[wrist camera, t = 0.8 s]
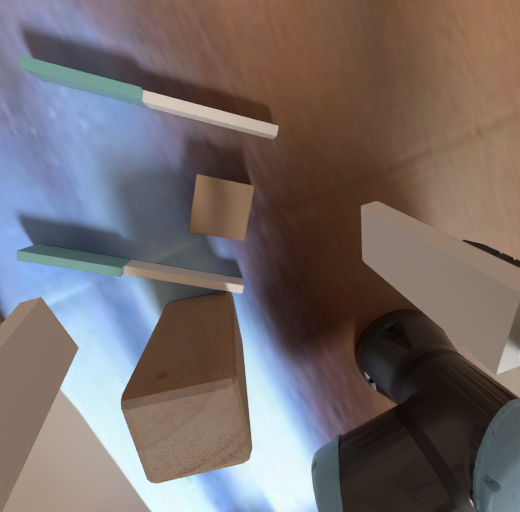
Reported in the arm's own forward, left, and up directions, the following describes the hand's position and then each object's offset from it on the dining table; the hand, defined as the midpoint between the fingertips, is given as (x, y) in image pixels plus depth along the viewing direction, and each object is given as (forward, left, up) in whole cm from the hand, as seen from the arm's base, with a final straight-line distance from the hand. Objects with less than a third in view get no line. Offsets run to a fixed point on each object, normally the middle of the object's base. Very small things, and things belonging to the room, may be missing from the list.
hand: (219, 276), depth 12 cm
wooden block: (0, +18, -29) cm, 34 cm away
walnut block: (0, 0, -29) cm, 29 cm away
